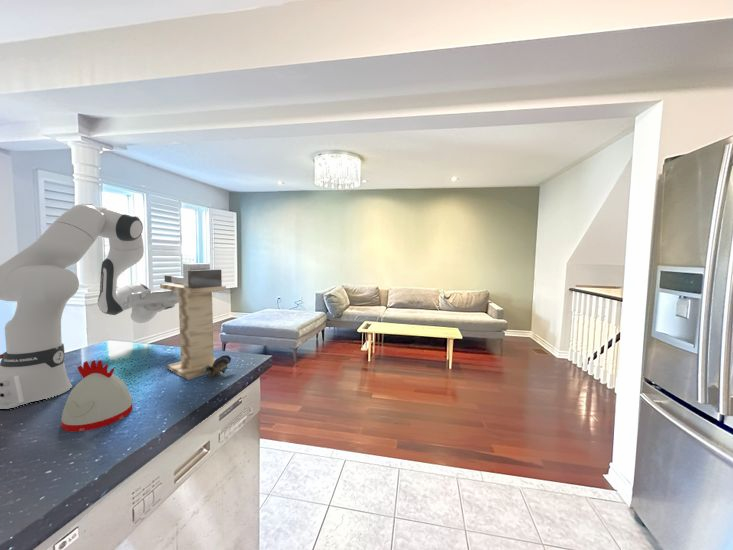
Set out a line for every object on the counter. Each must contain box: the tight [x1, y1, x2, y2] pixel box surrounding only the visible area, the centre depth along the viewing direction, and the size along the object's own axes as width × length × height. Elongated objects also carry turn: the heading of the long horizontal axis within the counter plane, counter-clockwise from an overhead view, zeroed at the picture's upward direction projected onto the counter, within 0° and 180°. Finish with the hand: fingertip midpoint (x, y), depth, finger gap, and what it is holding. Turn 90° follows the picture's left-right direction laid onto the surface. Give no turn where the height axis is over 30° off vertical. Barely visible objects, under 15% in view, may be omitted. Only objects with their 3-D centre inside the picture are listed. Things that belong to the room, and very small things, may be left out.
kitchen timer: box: [60, 359, 134, 433], centre depth 78 cm, size 14×14×15 cm
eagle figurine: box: [202, 354, 232, 381], centre depth 105 cm, size 8×7×9 cm
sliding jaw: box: [164, 262, 211, 287], centre depth 114 cm, size 26×7×8 cm, turn 55°
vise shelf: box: [159, 268, 228, 381], centre depth 111 cm, size 24×14×37 cm, turn 55°
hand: (162, 290), depth 126 cm, fingers open, 8 cm apart
